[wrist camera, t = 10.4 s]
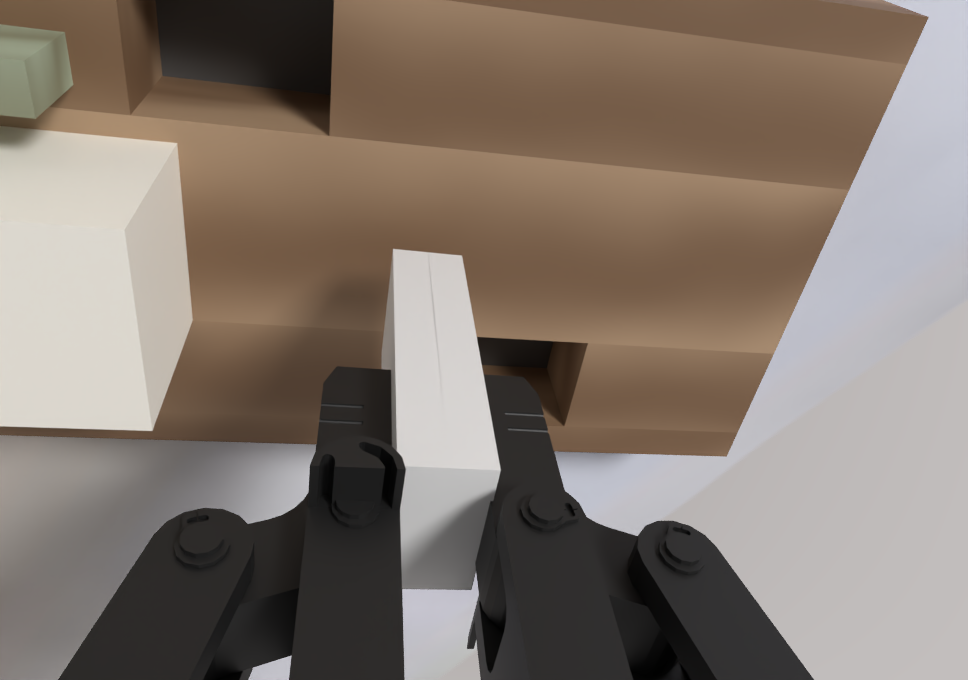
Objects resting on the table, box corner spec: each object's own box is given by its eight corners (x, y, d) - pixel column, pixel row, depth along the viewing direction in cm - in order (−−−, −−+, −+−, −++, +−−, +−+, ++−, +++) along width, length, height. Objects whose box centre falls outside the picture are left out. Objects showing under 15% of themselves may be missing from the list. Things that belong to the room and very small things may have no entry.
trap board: (-215, -181, 14) (-613, -176, 8) (855, -10, 18) (1069, 69, 13) (-45, 362, 21) (-196, 559, 16) (693, 395, 26) (783, 560, 20)
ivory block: (-62, 120, 15) (-185, 205, 11) (176, 143, 16) (124, 229, 12) (-11, 308, 17) (-100, 423, 14) (192, 320, 18) (152, 431, 15)
